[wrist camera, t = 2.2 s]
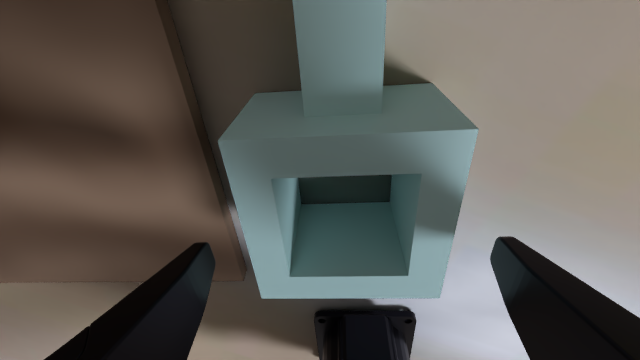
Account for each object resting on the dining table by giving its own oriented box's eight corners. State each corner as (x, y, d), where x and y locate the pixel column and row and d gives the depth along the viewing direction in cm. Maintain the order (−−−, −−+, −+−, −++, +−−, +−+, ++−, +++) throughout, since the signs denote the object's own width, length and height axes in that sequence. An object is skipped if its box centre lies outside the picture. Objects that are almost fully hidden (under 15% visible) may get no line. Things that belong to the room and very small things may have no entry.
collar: (414, 221, 15) (439, 298, 11) (279, 224, 16) (261, 298, 12) (457, -112, 9) (552, -191, 5) (221, -87, 9) (139, -140, 5)
